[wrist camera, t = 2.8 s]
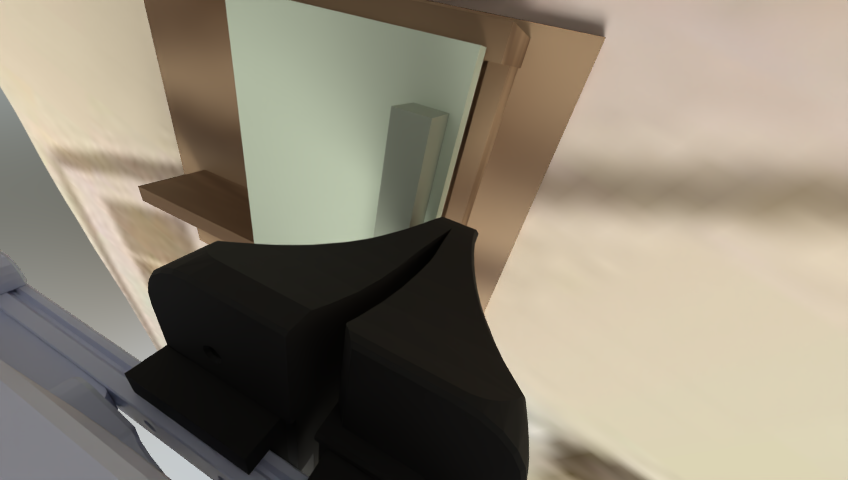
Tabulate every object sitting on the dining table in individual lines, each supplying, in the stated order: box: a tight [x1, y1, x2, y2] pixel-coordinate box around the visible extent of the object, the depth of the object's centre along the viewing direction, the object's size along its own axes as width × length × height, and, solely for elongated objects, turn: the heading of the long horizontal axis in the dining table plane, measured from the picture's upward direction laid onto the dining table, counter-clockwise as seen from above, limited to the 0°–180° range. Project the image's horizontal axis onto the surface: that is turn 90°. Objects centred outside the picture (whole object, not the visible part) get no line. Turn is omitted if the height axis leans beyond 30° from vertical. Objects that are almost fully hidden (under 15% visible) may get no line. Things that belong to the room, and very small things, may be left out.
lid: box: [225, 0, 487, 245], centre depth 12 cm, size 12×9×2 cm
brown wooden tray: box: [138, 0, 606, 313], centre depth 17 cm, size 20×25×5 cm
